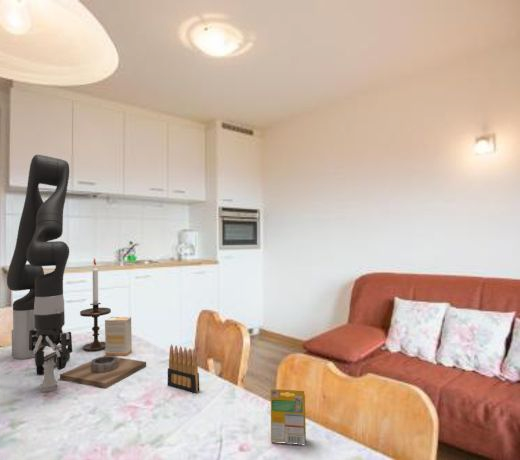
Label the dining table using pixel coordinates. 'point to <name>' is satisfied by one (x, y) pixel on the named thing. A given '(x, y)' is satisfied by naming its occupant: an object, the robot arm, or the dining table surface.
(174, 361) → the ammunition clip
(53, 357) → the mobile phone
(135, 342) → the dining table surface
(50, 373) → the rook chess piece
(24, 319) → the robot arm
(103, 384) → the walnut plate
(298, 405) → the crayon box
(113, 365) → the metal collar
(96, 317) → the candlestick
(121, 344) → the supplement box
